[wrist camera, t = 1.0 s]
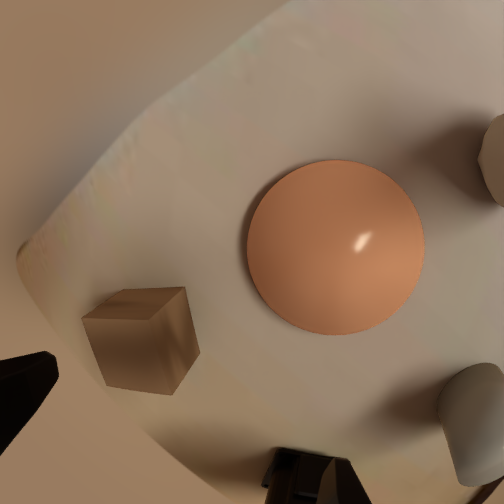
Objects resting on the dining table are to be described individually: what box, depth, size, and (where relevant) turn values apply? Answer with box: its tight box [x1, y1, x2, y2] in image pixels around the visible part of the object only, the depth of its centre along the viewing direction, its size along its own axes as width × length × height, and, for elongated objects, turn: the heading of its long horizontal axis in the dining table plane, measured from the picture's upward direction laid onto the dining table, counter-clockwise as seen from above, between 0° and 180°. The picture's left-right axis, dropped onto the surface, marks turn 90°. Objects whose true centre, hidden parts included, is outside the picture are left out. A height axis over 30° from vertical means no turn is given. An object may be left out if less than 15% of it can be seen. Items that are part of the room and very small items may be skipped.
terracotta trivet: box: [247, 160, 425, 335], centre depth 17 cm, size 10×10×1 cm
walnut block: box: [82, 287, 200, 395], centre depth 19 cm, size 5×5×5 cm
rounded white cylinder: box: [436, 363, 504, 487], centre depth 15 cm, size 6×6×7 cm
